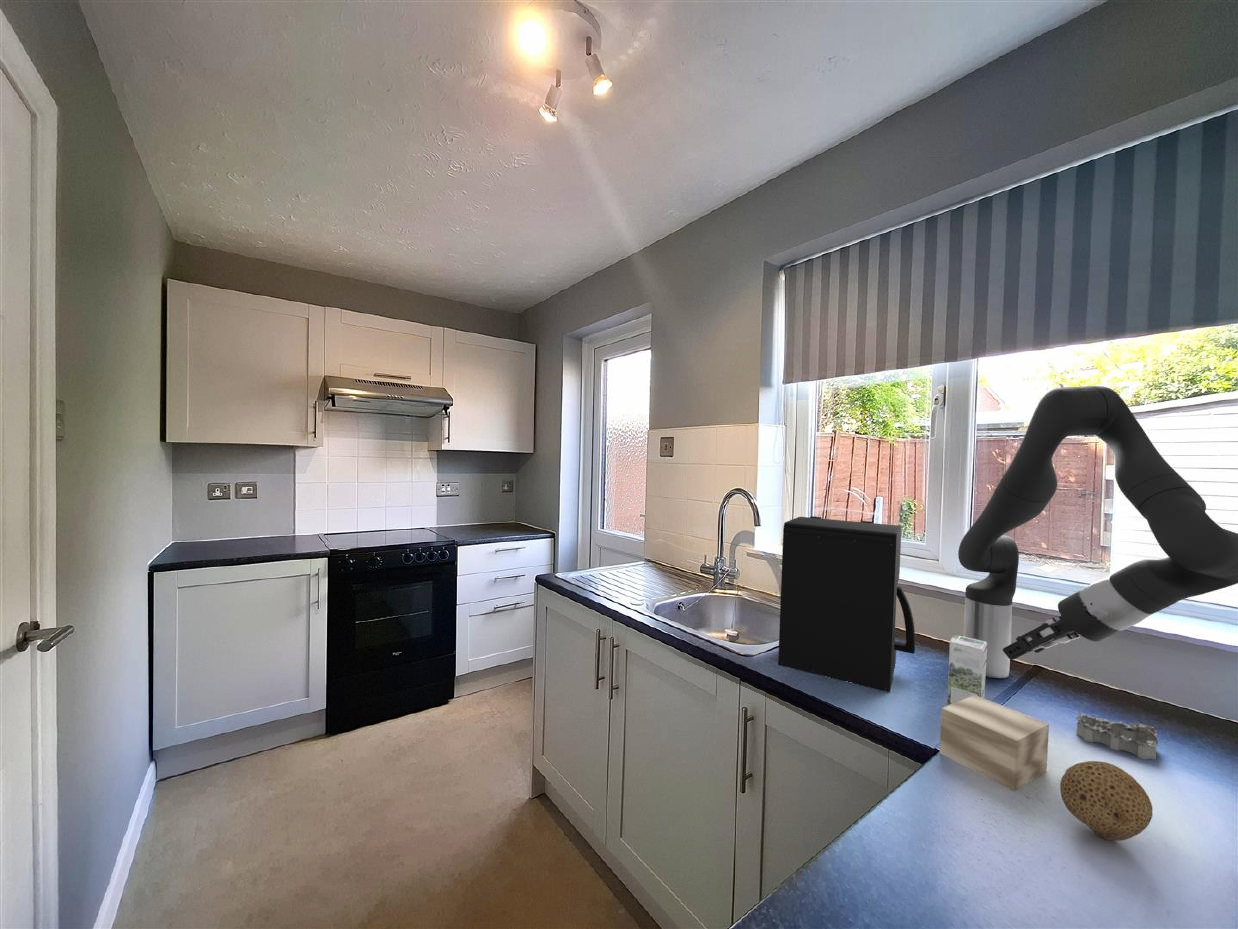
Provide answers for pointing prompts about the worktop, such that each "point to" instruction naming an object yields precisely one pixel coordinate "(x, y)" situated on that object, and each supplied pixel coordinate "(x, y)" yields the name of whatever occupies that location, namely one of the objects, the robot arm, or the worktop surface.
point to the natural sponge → (1106, 800)
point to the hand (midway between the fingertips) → (1019, 651)
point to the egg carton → (1119, 735)
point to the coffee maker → (842, 600)
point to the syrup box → (966, 668)
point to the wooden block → (994, 741)
